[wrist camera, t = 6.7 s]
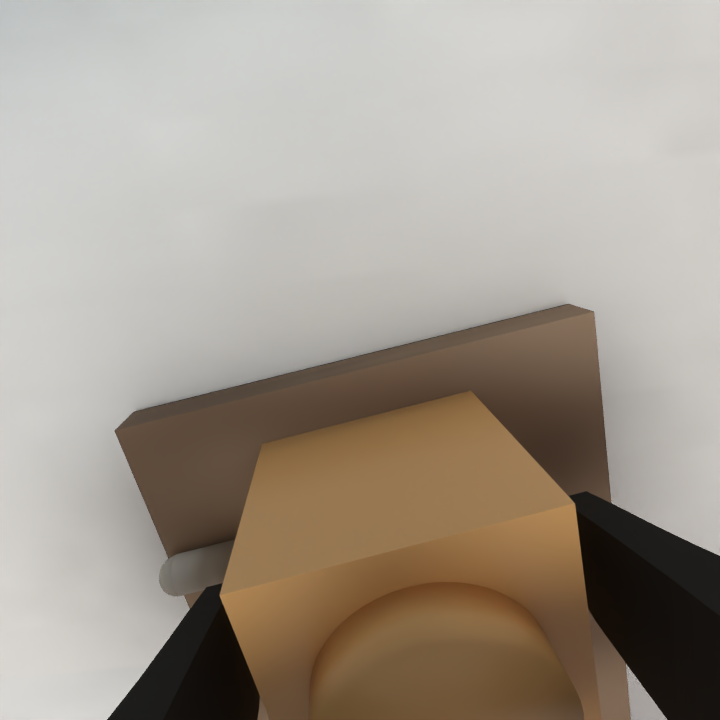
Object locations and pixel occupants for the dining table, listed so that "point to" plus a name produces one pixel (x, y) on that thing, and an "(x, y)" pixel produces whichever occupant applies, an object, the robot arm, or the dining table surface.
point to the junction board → (364, 399)
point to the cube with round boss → (411, 574)
